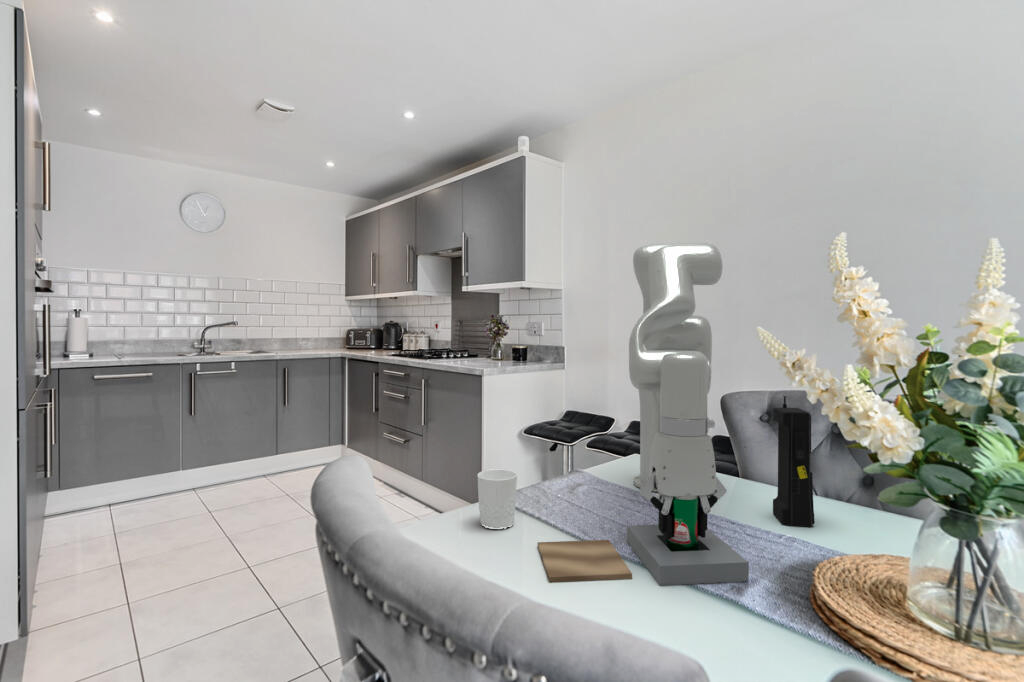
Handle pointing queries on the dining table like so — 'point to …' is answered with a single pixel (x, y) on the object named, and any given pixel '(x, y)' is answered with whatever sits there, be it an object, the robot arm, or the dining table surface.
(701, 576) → the socket block
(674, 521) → the soda can
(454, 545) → the dining table surface
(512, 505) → the white cup
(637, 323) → the robot arm
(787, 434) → the portable radio
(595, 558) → the walnut pad
